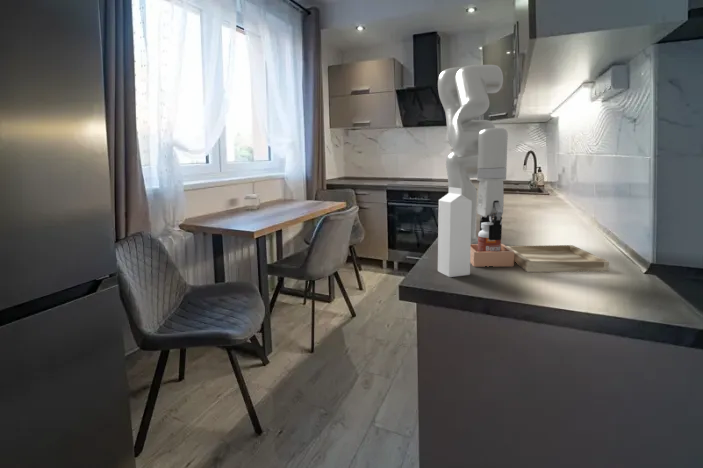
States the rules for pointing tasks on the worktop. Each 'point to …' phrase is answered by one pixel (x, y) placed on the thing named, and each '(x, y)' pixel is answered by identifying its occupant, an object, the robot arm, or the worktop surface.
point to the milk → (454, 233)
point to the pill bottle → (487, 240)
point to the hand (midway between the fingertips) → (490, 236)
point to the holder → (491, 257)
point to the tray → (557, 259)
